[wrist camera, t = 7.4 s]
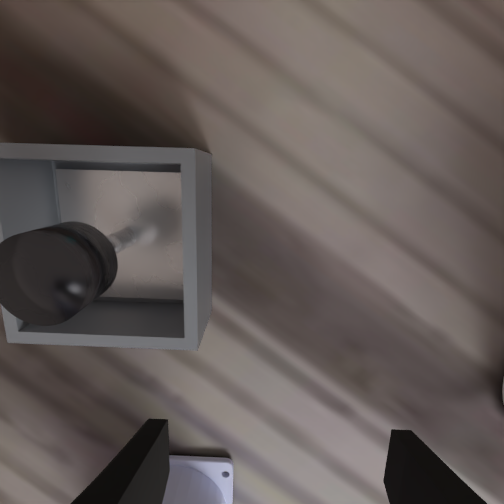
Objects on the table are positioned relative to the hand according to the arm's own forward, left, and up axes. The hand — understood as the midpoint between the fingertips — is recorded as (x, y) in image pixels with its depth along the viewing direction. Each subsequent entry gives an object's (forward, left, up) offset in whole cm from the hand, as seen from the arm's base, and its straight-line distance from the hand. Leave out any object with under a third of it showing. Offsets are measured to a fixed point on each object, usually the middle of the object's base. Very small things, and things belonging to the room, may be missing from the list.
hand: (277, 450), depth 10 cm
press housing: (+5, +8, -9) cm, 13 cm away
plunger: (+5, +8, -9) cm, 13 cm away
